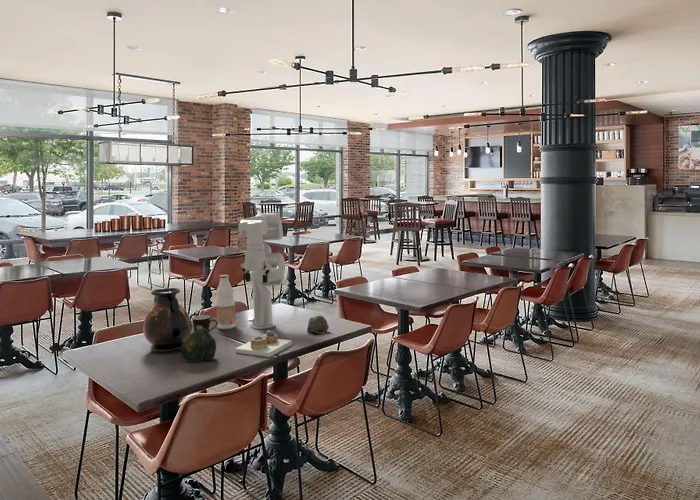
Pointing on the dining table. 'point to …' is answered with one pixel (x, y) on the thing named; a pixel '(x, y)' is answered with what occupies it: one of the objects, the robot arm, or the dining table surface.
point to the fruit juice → (225, 304)
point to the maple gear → (258, 343)
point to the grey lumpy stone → (317, 325)
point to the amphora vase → (166, 322)
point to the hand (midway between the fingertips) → (256, 282)
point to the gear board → (272, 346)
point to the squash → (198, 346)
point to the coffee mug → (202, 322)
